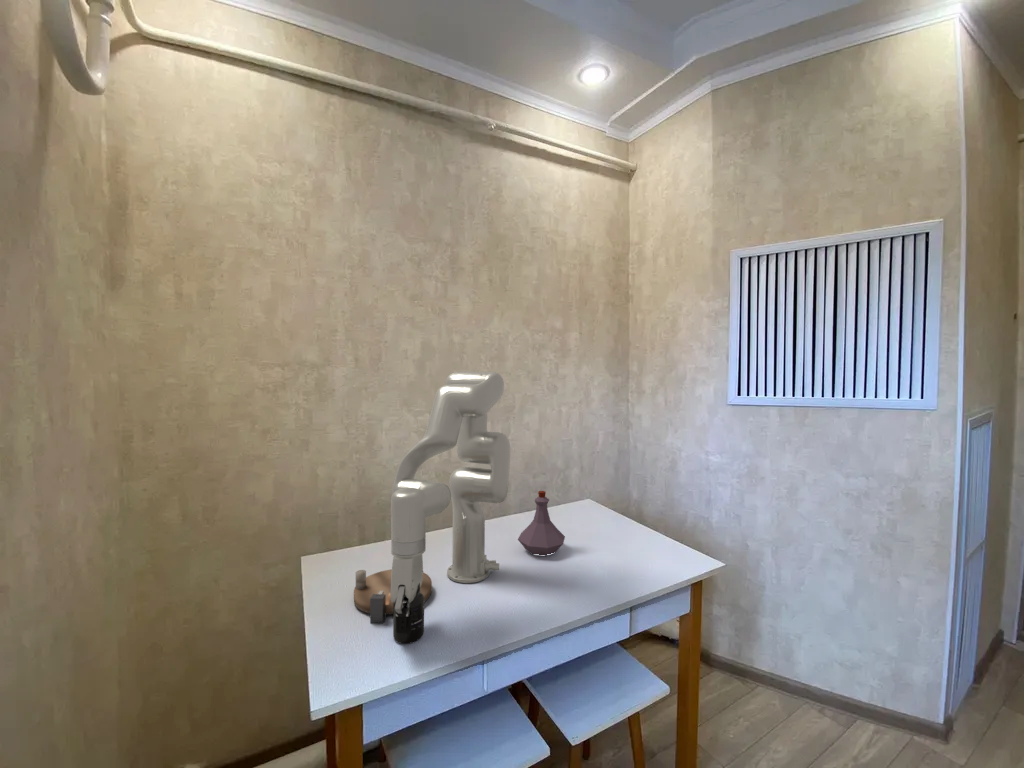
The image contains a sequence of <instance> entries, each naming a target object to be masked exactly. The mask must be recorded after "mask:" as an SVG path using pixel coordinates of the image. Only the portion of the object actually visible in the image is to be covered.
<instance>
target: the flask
mask: <svg viewBox="0 0 1024 768" xmlns="http://www.w3.org/2000/svg"><path fill="white" fill-rule="evenodd" d="M537 493H538V494H537V495H538V496H537V497H536V498H535V499H534V502H535V506H536V509H535V513H534V516H533V520H532V521H531V522H530V523H529V525H528V526H527V527H525V529H524V530H523V531H521V532H520V534H519V536H518V538H517V541H518V542H519V543H520V545H522V546H523V548H524V549H525V550H526V552H528V551H529V552H531V553H532V554H531V553H530V554H531V555H533V554H539V555H547V554H551V553H554V552H555V553H556V552H557V551H558V550H559V549H560V548H561V547H562V546H563V545H564V543H565V539H566V536H565V535H564V534H563V533H562V532H561V531H560V530H559V529H558V528H557V527H556V525H555V524H554V523H553V522H552V521H551V517H550V513H549V509H548V503H549V501H550V499H549V498H548V497H547V496H546V491H545V490H538V492H537ZM529 552H528V553H529ZM555 553H554V554H555Z"/></svg>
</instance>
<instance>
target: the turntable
mask: <svg viewBox="0 0 1024 768" xmlns="http://www.w3.org/2000/svg"><path fill="white" fill-rule="evenodd" d="M391 573H392V568H391V569H386V570H382V571H378V572H375V573H372V574H370V575H368V576H367V570H365V569H359V570H356V571H355V587H354V589H353V604H354V605H355V607H356V608H357V609H359V610H361V611H362V612H365V613H368V614H370V598H371V597H372V595H373V594H378V593H379V591H384V594H386V615H393V603H394V602H391V600H390V595H391ZM432 588H433V581H432V579H431V577H430V575H428V574H427V573H425V572H423V580H422V584H421V587H420V590H421V593H422V594H423V596H424V603H425V602H426V601H427V600H428V599H429V598H430V597H431V594H432V591H433V590H432Z"/></svg>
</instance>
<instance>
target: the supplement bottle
mask: <svg viewBox="0 0 1024 768" xmlns="http://www.w3.org/2000/svg"><path fill="white" fill-rule="evenodd" d="M396 600H397V599H396ZM404 600H408V598H407V597H404ZM395 604H396V601H395V602H394V603H393V614H392V615H393V617H392V618H393V619H392V629H393V630H392V631H393V632H392V636H393V640H394V641H395V642H397V643H399V644H403V645H408V644H409V645H410V644H413V643H416V642H419V640H421V639H422V637H423V636H424V633H425V602H424V596H423V594H422V593H421V592H420V583H419V585H418V589H417V593H416V596H415V598H414V600H413V601H412V602H411V607H410V614H411V633H409V634H407V633H397V632H396V611H395ZM403 608H406V609H407V603H403Z"/></svg>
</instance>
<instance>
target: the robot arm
mask: <svg viewBox="0 0 1024 768" xmlns="http://www.w3.org/2000/svg"><path fill="white" fill-rule="evenodd" d="M504 391H505V382H504V378H503V376H502V375H501V374H499V373H498V372H495V371H455V372H453V373H450V374H449V375H448V376H446V381H445V385H441V387H439V388H438V389H437V390H436V393H435V396H434V399H433V402H432V406H431V411H430V414H429V418H428V421H427V425H426V428H425V433H424V435H423V437H422V438H421V439H420V440H419V441H418V442H417V443H416V444H415V445H413V446H412V447H411V448H410V449H409V450H408V452H407V453H406V454H405V455H404V456H403V458H402V459H401V460H400V462H399V464H398V466H397V470H396V473H395V476H394V480H393V484H392V488H391V498H390V526H391V527H390V529H391V531H390V533H391V534H390V537H391V538H390V541H391V542H390V544H391V545H390V552H391V555H392V556H393V558H392V564H391V569H392V573H391V595H390V600H391V602H395V601H396V604H395V611H396V632H397V633H407V634H409V633H411V614H410V607H411V602H412V601H413V600H414V598H415V596H416V593H417V589H418V585H419V583H420V587H421V584H422V580H423V573H424V566H423V565H424V561H423V554H425V552H426V543H427V542H426V541H427V540H426V519H427V518H428V517H431V516H435V515H438V514H441V513H443V512H444V511H445V510H446V509H447V508H448V507H449V505H450V503H451V504H452V505H451V506H452V507H451V508H452V562H451V563H452V564H451V565H450V566H449V567H448V568H447V569H446V577H448V579H450V580H451V581H453V582H456V583H460V584H474V583H479V582H481V581H484V580H485V579H487V578H488V577H489V575H490V573H491V571H499V570H500V563H499V562H497V560H496V559H495V560H489V559H488V557H487V554H485V548H486V545H485V544H486V543H485V539H486V538H485V537H486V536H485V531H486V528H485V526H486V524H485V523H486V513H485V511H484V508H483V505H482V504H481V503H487V504H502V503H503V502H505V501H506V498H507V497H508V492H509V484H510V465H511V442H510V439H509V437H508V436H507V435H506V434H504V433H503V432H500V431H499V432H498V431H488V412H489V411H490V410H492V409H493V407H495V405H496V404H497V403H498V402H499V401H500V400H501V398H502V396H503V395H504ZM456 446H457V447H456ZM455 447H456V453H457V457H458V459H459V460H460V461H462V462H464V463H470V464H471V463H472V464H479V465H480V464H482V465H490V468H481V467H473V466H472V467H470V466H469V467H468V466H464V467H458V468H456V469H455V470H454V471H452V473H451V474H450V477H449V481H448V482H449V483H448V484H449V486H448V485H447V484H445V483H444V482H440V481H435V480H426V479H417V478H415V477H416V474H417V471H418V470H419V469H420V467H421V466H422V465H423V464H425V462H426V461H428V460H430V459H431V458H433V457H436V456H438V455H439V454H442V453H445V452H447V451H449V450H452V449H453V448H455ZM420 592H421V590H420ZM404 597H407V598H408V600H404ZM396 599H397V600H396ZM403 603H407V609H406V608H403Z"/></svg>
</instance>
